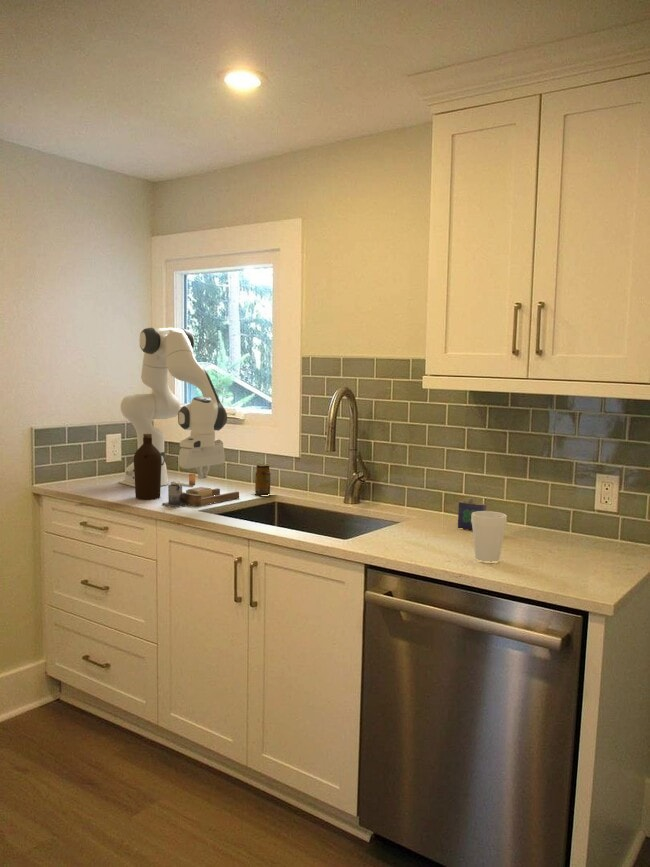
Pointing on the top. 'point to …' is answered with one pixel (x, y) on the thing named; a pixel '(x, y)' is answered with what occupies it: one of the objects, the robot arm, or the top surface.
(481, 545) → the foam cup
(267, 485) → the condiment
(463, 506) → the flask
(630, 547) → the top surface
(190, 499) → the bay
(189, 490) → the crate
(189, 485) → the crank
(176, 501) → the grey cylinder
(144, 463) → the olive oil
